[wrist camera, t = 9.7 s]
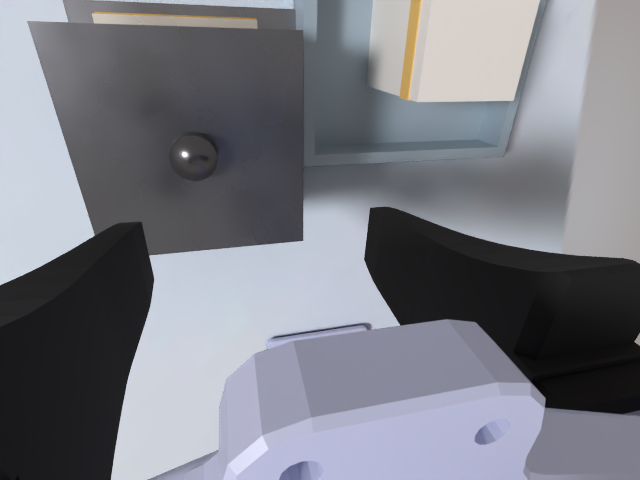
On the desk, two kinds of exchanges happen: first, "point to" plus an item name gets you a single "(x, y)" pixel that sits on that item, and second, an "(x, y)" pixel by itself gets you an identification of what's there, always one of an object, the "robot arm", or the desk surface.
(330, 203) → the desk surface
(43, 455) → the robot arm
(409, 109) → the tray
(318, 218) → the desk surface
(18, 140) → the desk surface
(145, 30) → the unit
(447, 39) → the part block
